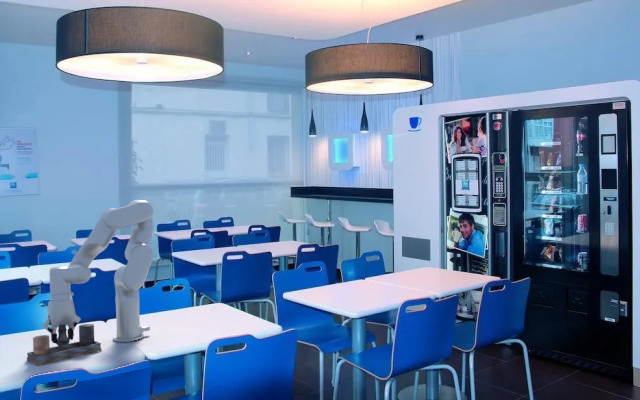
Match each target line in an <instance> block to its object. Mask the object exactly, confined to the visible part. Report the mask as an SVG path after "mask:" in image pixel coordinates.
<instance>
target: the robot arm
mask: <svg viewBox="0 0 640 400" xmlns="http://www.w3.org/2000/svg"><path fill="white" fill-rule="evenodd" d="M153 213H154V207H153V205H152V204H151V203H150V202H148V201H147V200H142V199H141V200H140V199H135V200H132V201H130V202H128V204H127V205H125V206H121V207H118V208H115V207H113V208H112V207H111V208H109V207H108V208H107V209H105V210H104V211H103V212H102V213H101V215H100V216H99V219H98V220H97V221H96V223H95V225H94V227H93V229H92V231H91V232H90V234H89V235H88V237H87V238H86V240H85V241H84V242H83V243H82V245H81V246H80V247H79V249H78V250H77V251H76V253H75V254H74V256H73V258H72V260H71V261H70V263H69V265H68V266H64V265H59V266H58V265H57V266H53V267H51V268H50V269H49V291H50V293H49V294H50V300H49V301H48V303H47V310H46V311H47V312H46V320H45V321H44V323H43V324H42V328H43V329H45V330H46V331H47V332H49V333H50V339H51V340H50V342H52V343H53V344H56V343H57V339H58V333H57V330H58V326H61V325H66V326H67V327H68V329H67V337H68V338H70V341H72V340H73V339H74V335H75V333H74V330H75V328H76V327H77V326H78V324H79V323H80V321H81V319H82V318H80V316H78V315H77V314H76V308H75V303H74V301H73V298H72V296H74V294H75V293H74V291H73V292H72V291H71V284H78V285H79V284H85V283H87V282H88V281H89V280H90V279H91V277H92V271H91V269H90V268H89V267H90V265H91V264H92V262H93V261H94V259H95V258H96V257H97V256H98V255H100V254H101V253H102V252H104V251H105V250H106V249H107V248H108V246H109V244H110V243H111V241H112V239H113V237H114V235H116V232H117V231H118V230H121V229H125V228H129V227H130V226H132V231H131V234H130V237H129V239H128V242H127V245H126V248H125V251H124V257H125V260H126V261H127V263H126V264H125V265H121V266H119V267H118V268H117V269H116V271H115V273H114V276H113V277H114V278H113V282H114V289H115V311H116V312H115V313H116V314H115V315H116V317H115V319H116V320H115V321H116V334H115V335H113V337H112V341H114V342H118V343H131V342H130V341H132V342H135V341H134V340H137V341H139V340H138V339H140V340H142V339H143V338H144V332H149V331H150V330H151V327H150V326H149V325H147V326H141V324H140V323H141V322H140V291H139V289H141V288H142V287H143V285H144V283H146V279H147V276H148V273H149V270H150V267H151V265H152V262H153V257H154V252H153V249H152V247H151V246H150V243H151V240H152V237H153V233H154V221H153V217H152V216H153ZM141 338H142V339H141ZM56 345H57V344H56Z"/></svg>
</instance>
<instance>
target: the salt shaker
mask: <svg viewBox="0 0 640 400" xmlns="http://www.w3.org/2000/svg"><path fill="white" fill-rule="evenodd" d="M67 331H68V329H67V324H66V325H61V326H57V332H58V333H57V334H58V335H57V343H56V346H61V345H65V344H70V343H71V339H70V338H68V334H67Z"/></svg>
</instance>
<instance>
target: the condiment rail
mask: <svg viewBox="0 0 640 400" xmlns="http://www.w3.org/2000/svg"><path fill="white" fill-rule="evenodd" d="M94 325H95V324H93V323H84V324H80V325H78V335H79V336H78V339H79V341H75V342H69V344H65V345H61V346H58V345H56V346H52V347H51V345H50V335H47V334H45V335H42V334H40V335H36V336H33V337H32V341H33V342H32V345H33V347H32V349H33V350H32V351H29V352H27V357H26V362H29V363H31V364H34V365H35V366H37V367H39V366H43V365H50V364H53V363H57V362H62V361H65V360H69V359H74V358H78V357H82V356H86V355H90V354H95V353H99V352H98V351H100V352H102V347H101V342H99V341H96V340H95V326H94Z"/></svg>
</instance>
